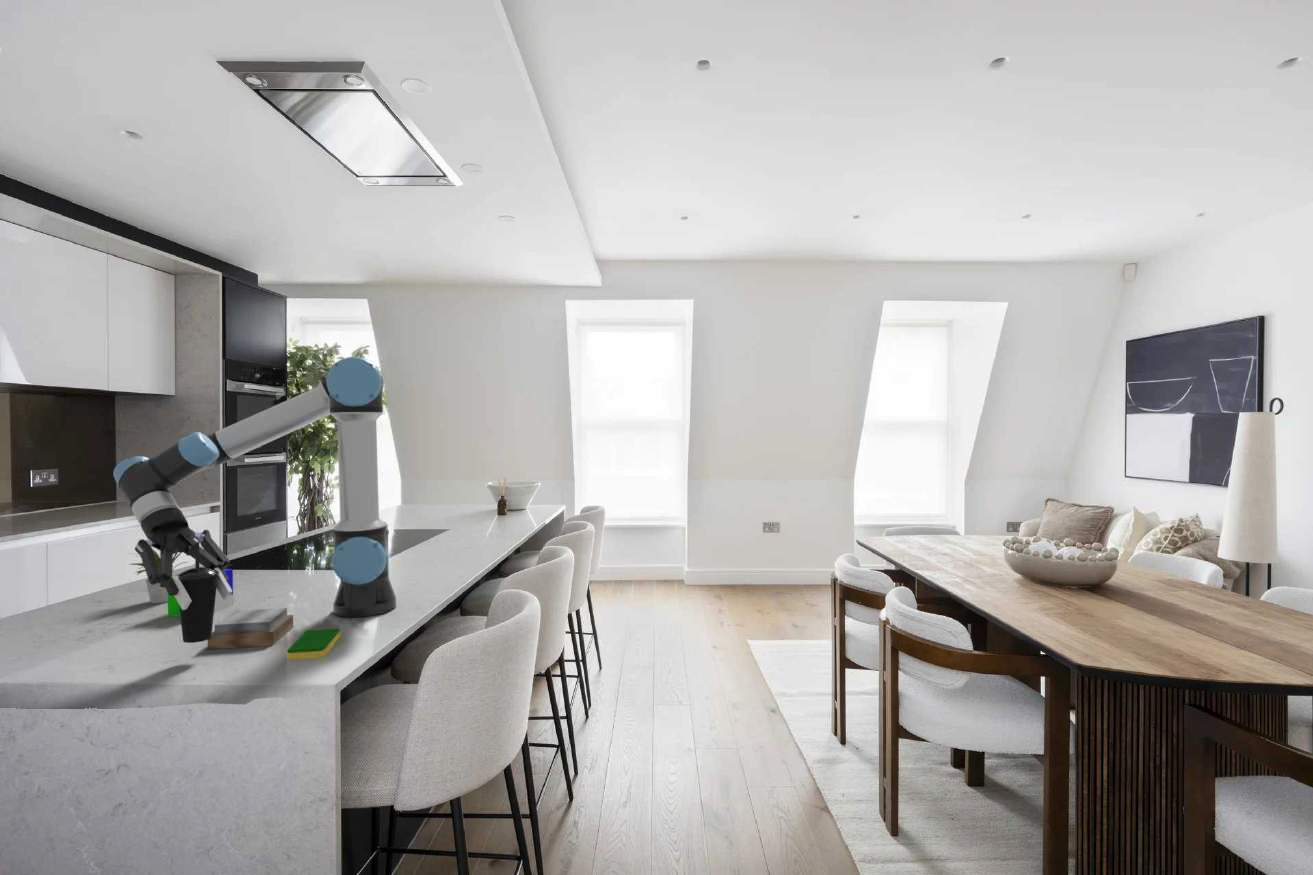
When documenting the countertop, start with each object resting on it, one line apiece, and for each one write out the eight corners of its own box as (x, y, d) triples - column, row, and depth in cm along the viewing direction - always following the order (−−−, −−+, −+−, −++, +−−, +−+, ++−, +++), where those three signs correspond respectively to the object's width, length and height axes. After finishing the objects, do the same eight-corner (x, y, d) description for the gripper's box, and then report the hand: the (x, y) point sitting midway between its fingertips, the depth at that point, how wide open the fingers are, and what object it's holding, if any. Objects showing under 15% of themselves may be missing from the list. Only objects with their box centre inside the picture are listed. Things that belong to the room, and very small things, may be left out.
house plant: (139, 596, 187) (137, 539, 187) (197, 591, 192) (196, 535, 192) (121, 609, 174) (119, 548, 173) (184, 603, 179) (183, 544, 179)
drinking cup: (189, 634, 140) (189, 540, 140) (227, 633, 141) (227, 539, 141) (165, 645, 132) (165, 546, 132) (205, 644, 133) (205, 545, 133)
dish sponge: (286, 661, 136) (286, 650, 136) (307, 640, 150) (306, 629, 150) (323, 659, 138) (323, 647, 138) (340, 638, 152) (340, 627, 151)
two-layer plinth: (293, 627, 158) (292, 606, 158) (273, 645, 146) (272, 622, 145) (233, 630, 156) (233, 609, 156) (207, 649, 143) (207, 626, 143)
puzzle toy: (233, 606, 177) (232, 569, 177) (204, 617, 167) (203, 577, 167) (199, 605, 178) (198, 568, 178) (168, 616, 168) (167, 577, 168)
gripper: (203, 522, 152) (249, 599, 145) (98, 537, 134) (145, 625, 127) (216, 500, 149) (263, 577, 143) (111, 512, 131) (159, 601, 125)
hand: (208, 600), depth 135 cm, fingers closed on drinking cup, 7 cm apart
